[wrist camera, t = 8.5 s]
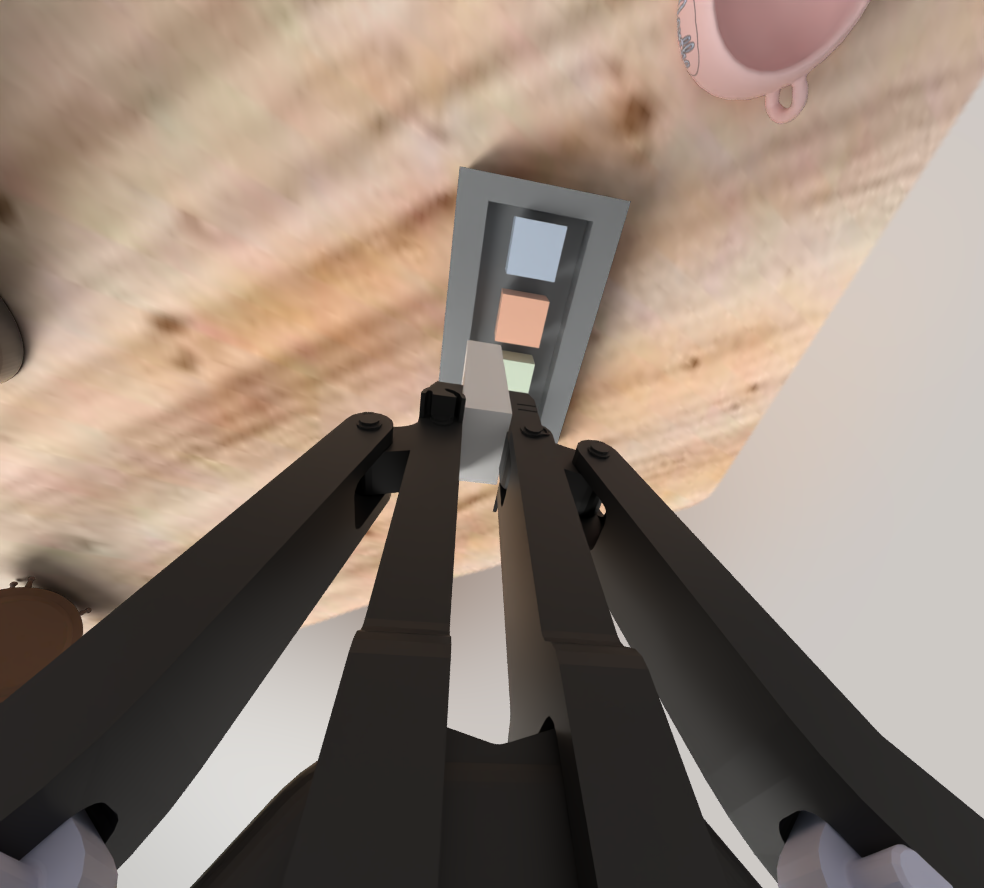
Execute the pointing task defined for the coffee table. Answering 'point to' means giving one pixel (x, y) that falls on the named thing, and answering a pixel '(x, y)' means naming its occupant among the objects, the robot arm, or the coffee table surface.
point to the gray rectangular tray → (482, 277)
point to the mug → (761, 45)
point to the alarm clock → (33, 632)
